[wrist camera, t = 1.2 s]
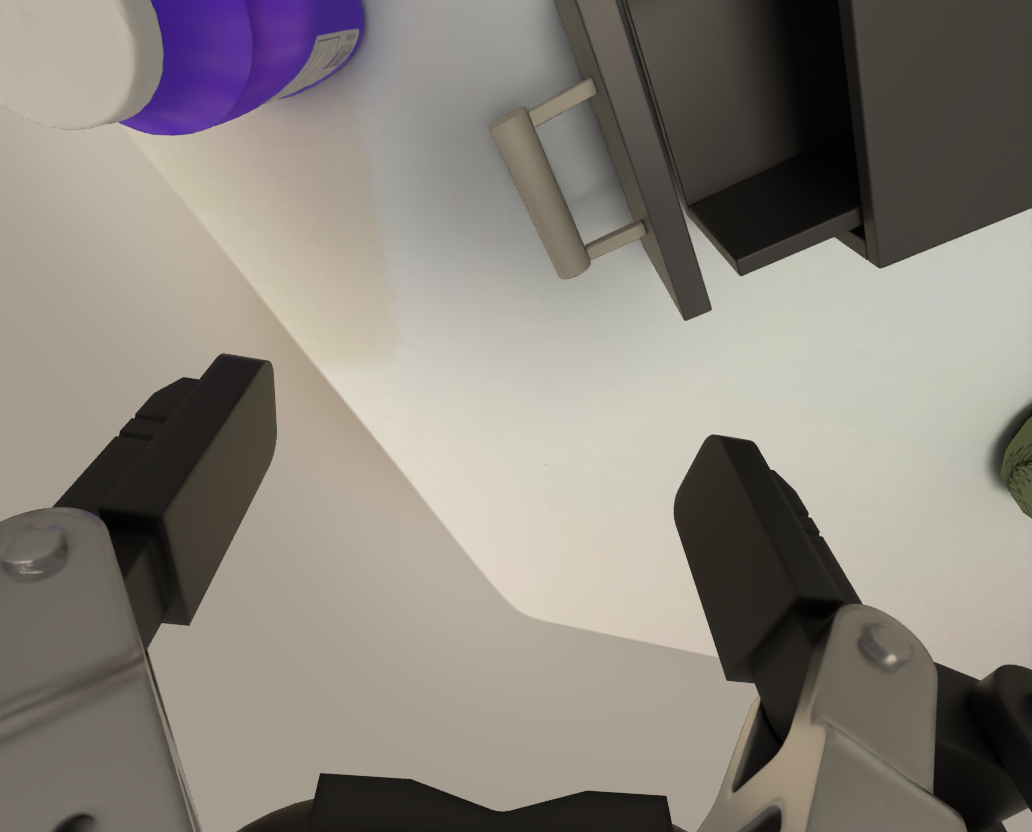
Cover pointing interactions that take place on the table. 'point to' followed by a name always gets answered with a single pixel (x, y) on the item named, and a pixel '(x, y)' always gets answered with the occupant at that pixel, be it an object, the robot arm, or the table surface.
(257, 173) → the table surface
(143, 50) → the bottle
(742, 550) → the robot arm
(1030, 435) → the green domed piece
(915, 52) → the cabinet
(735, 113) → the drawer
